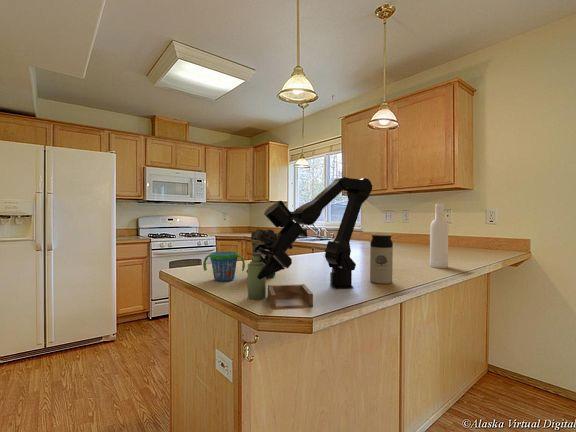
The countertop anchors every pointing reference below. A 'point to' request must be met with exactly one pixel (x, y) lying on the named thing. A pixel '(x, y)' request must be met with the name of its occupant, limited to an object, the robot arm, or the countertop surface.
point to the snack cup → (224, 265)
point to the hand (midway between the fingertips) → (252, 275)
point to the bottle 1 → (254, 284)
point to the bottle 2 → (439, 239)
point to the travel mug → (381, 258)
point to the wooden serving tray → (289, 296)
